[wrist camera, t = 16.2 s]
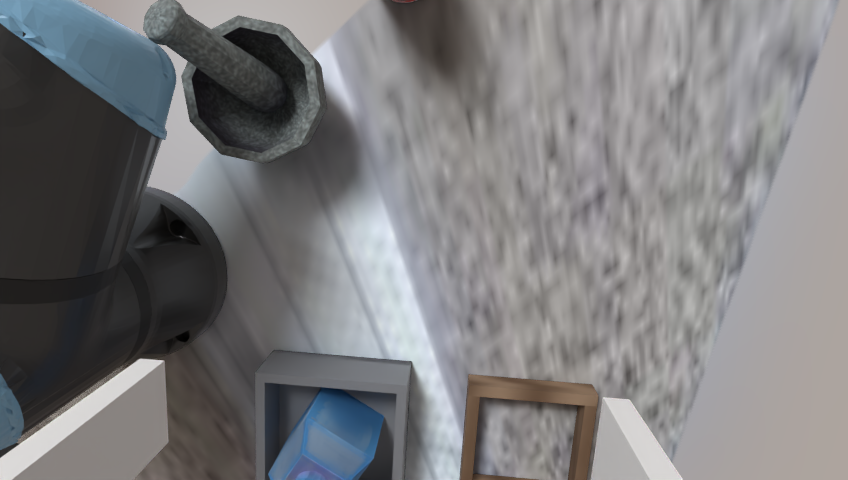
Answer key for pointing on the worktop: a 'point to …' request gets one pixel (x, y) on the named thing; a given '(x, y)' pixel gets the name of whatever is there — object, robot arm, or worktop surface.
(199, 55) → the mortar and pestle
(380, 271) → the worktop surface
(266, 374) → the bin
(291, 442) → the perfume bottle
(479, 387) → the holder
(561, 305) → the worktop surface
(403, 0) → the pill bottle
